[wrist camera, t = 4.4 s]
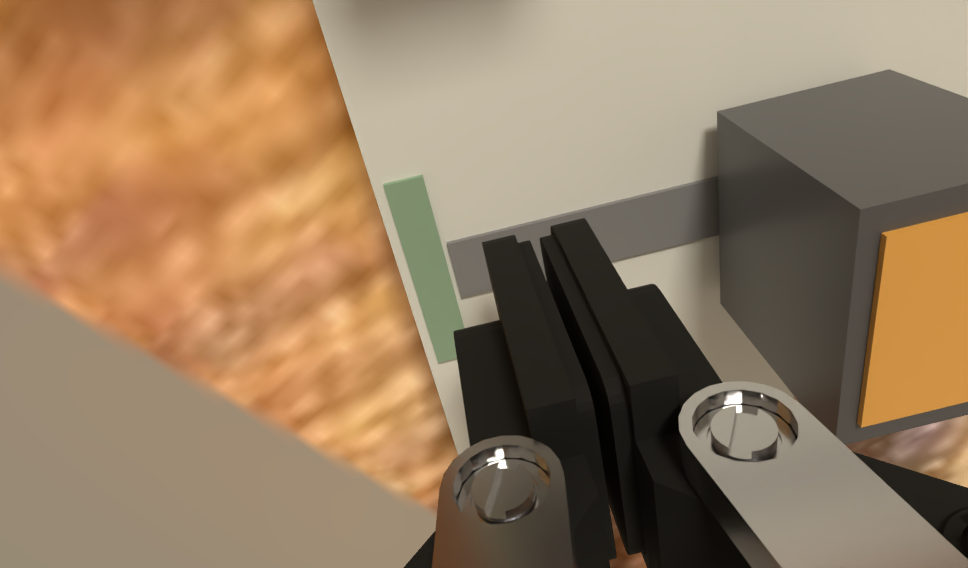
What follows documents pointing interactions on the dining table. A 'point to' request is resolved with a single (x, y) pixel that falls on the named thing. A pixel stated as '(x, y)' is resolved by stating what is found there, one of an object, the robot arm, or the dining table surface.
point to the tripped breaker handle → (852, 247)
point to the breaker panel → (590, 134)
